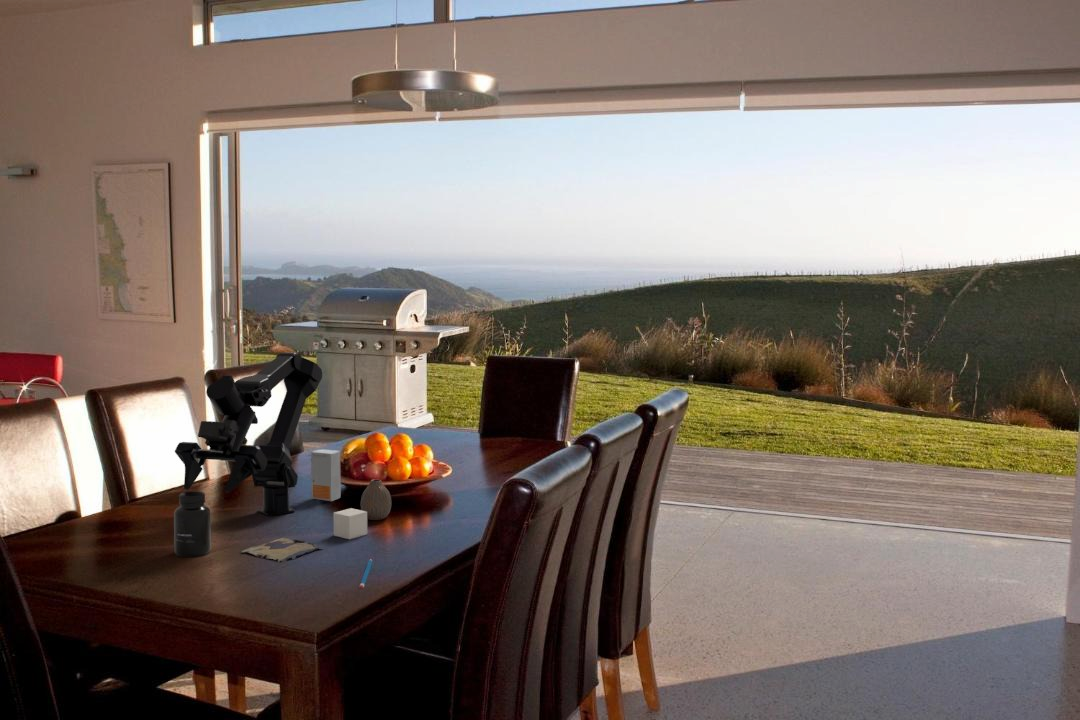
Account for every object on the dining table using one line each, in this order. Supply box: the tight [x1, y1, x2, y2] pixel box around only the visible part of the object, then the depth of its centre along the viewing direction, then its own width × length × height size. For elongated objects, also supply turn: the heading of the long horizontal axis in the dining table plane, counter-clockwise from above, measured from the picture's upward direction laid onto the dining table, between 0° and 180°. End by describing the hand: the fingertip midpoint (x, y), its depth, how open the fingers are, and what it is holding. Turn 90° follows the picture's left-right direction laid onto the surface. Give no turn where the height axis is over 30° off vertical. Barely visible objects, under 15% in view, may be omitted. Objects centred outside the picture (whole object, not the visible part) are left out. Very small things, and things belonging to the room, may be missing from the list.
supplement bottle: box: [173, 490, 212, 558], centre depth 187 cm, size 7×7×12 cm
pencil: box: [358, 558, 373, 589], centre depth 175 cm, size 1×17×1 cm, turn 4°
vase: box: [360, 478, 392, 521], centre depth 214 cm, size 7×7×9 cm
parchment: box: [239, 537, 323, 563], centre depth 189 cm, size 12×13×1 cm
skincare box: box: [310, 448, 341, 502], centre depth 232 cm, size 6×4×12 cm
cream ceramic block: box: [333, 507, 368, 540], centre depth 201 cm, size 5×5×5 cm
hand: (205, 490), depth 191 cm, fingers open, 9 cm apart
